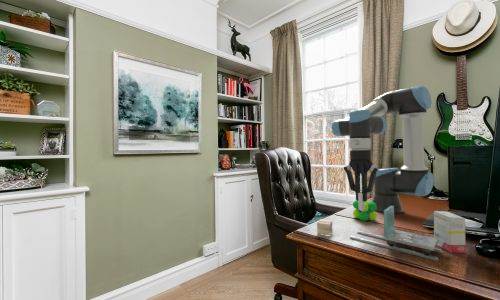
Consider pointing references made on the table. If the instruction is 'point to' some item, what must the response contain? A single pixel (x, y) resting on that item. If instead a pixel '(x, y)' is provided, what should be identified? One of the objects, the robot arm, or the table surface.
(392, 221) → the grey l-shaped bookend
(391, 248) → the track
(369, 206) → the molecule model
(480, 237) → the table surface
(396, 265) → the table surface
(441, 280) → the table surface
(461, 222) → the ink box
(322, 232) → the beech block
